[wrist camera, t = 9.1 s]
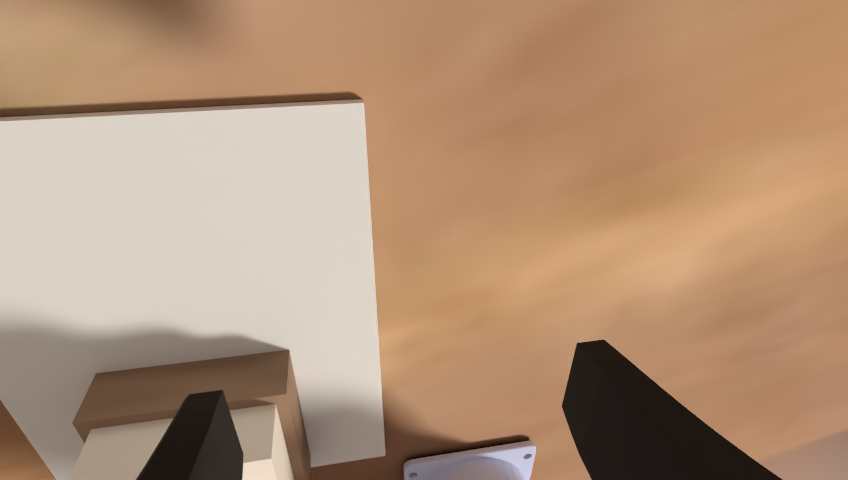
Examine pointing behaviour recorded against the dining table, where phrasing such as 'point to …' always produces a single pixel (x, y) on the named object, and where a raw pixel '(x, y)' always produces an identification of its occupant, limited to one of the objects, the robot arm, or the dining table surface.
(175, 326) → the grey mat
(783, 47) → the dining table surface
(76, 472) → the cream block
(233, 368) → the walnut base block
